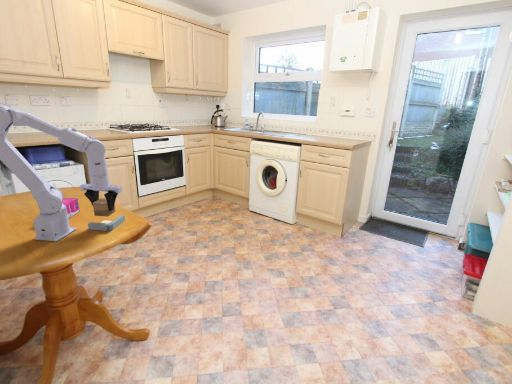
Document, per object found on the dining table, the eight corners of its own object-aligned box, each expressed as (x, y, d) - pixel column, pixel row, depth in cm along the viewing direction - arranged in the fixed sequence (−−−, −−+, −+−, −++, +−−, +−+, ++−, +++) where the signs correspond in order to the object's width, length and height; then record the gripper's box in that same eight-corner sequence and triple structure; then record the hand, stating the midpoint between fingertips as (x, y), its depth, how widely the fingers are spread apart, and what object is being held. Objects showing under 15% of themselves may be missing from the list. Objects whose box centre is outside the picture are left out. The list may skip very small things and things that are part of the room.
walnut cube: (107, 216, 100) (106, 203, 98) (94, 215, 100) (92, 202, 99) (115, 211, 105) (113, 199, 103) (102, 210, 105) (101, 198, 103)
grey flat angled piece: (110, 231, 99) (110, 225, 98) (88, 229, 100) (87, 223, 99) (125, 220, 108) (124, 215, 107) (104, 218, 109) (104, 213, 108)
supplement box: (80, 211, 115) (63, 223, 104) (66, 210, 115) (47, 222, 104) (78, 198, 113) (60, 209, 102) (63, 197, 113) (43, 208, 102)
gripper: (124, 172, 100) (128, 206, 105) (87, 170, 102) (93, 204, 106) (113, 177, 94) (118, 214, 98) (73, 175, 95) (80, 211, 99)
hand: (104, 209), depth 102 cm, fingers closed on walnut cube, 5 cm apart
